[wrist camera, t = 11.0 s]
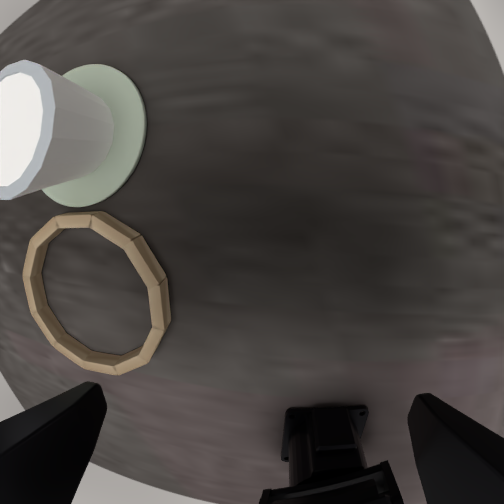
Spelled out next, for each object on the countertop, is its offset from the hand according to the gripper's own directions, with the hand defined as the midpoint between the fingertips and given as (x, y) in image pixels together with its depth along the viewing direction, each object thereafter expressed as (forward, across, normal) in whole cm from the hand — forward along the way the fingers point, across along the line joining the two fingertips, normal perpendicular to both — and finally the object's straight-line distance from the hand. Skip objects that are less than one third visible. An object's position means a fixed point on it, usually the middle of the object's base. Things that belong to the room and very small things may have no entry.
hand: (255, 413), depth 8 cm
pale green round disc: (+12, +12, -9) cm, 19 cm away
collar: (+12, +12, +2) cm, 17 cm away
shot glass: (+12, +12, -9) cm, 19 cm away
